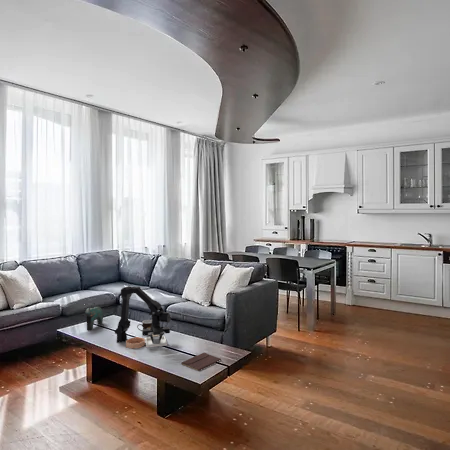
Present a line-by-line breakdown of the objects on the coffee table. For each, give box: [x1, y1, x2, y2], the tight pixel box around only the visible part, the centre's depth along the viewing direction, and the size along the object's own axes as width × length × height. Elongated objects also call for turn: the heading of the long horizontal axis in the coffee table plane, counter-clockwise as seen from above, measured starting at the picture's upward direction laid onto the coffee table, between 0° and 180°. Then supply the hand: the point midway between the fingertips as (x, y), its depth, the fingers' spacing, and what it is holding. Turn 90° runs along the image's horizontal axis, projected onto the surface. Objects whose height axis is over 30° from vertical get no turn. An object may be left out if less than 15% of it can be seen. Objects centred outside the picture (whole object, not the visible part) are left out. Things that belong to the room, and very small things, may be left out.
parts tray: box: [144, 335, 168, 348], centre depth 257 cm, size 14×15×2 cm
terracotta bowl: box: [125, 336, 146, 349], centre depth 253 cm, size 13×13×4 cm
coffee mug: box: [136, 319, 153, 334], centre depth 275 cm, size 12×9×10 cm
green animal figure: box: [84, 302, 104, 331], centre depth 295 cm, size 20×6×20 cm, turn 167°
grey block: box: [153, 337, 159, 344], centre depth 254 cm, size 4×5×4 cm
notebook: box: [180, 352, 222, 372], centre depth 225 cm, size 15×20×2 cm
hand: (156, 343), depth 254 cm, fingers closed on grey block, 4 cm apart
